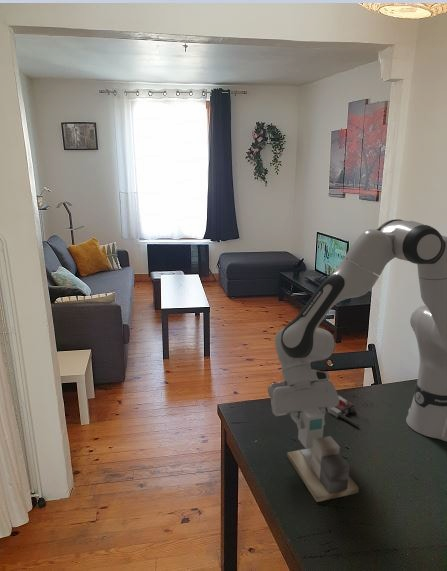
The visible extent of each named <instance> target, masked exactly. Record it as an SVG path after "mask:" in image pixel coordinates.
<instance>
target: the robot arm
mask: <svg viewBox="0 0 447 571" xmlns="http://www.w3.org/2000/svg"><path fill="white" fill-rule="evenodd" d="M395 258H396V259H399V260H403V261H406V262H409V263H412V264H414V265H417V276H418V283H419V291H420V298H421V301H422V302H423V304H424V305H422V306H419V307H417V308H416V309H414V311H413V312H412V314H411V316H410V318H409V319H410V320H409V324H410V327H411V329H412V331H413V332H414V335H415V338H416V342H417V348H418V353H419V366H418V375H417V380H416V382H415V384H414V385H415V386H414V392H413V398H412V402H411V405H410V407H409V408H408V411H407V412H408V413H407V416H406V417H405V418H406V419H405V421H406V424H407V425H408V426H409V427H410V429H412V430H413V431H415V432H416V433H418V434H420V435H423V436H425V437H429V438H433V439H437V440H441V441H444V442H447V236H446V235H442V234H441V233H440V231H438V230H437V229H436V228H434V227H433V226H430V225H427V224H424V223H420V222H418V221H414V220H402V219H400V218H399V219H398V218H396V219H390V220H387V221H385V222H384V223H382V224H381V225H380V226H379V227H378V228H377V229H373V228H371V229H367V230H365V231H363V232H362V233H361V234H360V235H359V236H358V238H356V240H355V241H354V243H353V244H352V245H351V246H350V247H349V250H348V251H347V252H346V253H345V256H344V258H343V259H342V261H341V262H339V265H338V266H337V267H336V269H335V270H334V271H333V272H332V273H331V274H330V275H329V276H327V277H326V278H325V279H324V280H323V281H322V282H321V283H320V285H319V286H318V288H316V290H315V291H314V293H313V294H312V295H311V296H310V298H309V300H308V301H307V302H306V304H305V305H304V306H303V308H302V309H301V310H300V312H299V313H298V314H297V316H295V318H293V319H292V320H291V321H289V323H287V324H286V325H285V326H284V327H283V328H281V329H279V331H277V332H276V335H275V336H274V344H275V345H274V346H275V350H276V356H277V359H278V362H279V363H280V365H281V366H280V367H281V374H282V378H283V381H280V382H273V383H271V384H270V385H269V386H268V388H267V392H268V396H269V398H270V404H271V406H270V407H271V411H272V414H273V415H274V416H275V417H279V416H287V415H290V418H291V419H292V420H293V422H294V423H295V424H296V427H297V430H299V429H304V428H305V425H304V422H303V421H302V422H301V421H300V420H299V417H298V416H299V414H300V411H301V410H302V409H308V408H315V407H318V408H319V409H320V411H321V412H322V413H323V414H324V415H325V416H326V412H327V408H333V407H336V406H337V405H338V404H339V397H338V396H339V394H338V392H337V390H336V387H335V385H334V383H333V382H332V381H331V380H330V379H331V376H330V373H328V372H327V371H321V370H319V369H318V370H317V369H313V368H312V367H311V363H312V362H313V363H314V362H319V361H324V360H327V359H329V358H330V357H331V356H332V355H333V353H334V352H335V349H336V348H335V347H336V341H335V338H334V335H333V334H332V333H331V332H330V331H329V330H326V329H325V328H321V327H319V326H320V324H321V323H322V322H323V320H324V319H325V317H326V316H327V315H328V313H329V312H330V311H331V309H332V308H333V307H334V306H335V305H337V304H338V303H340V302H341V301H345V300H348V299H353V298H360V297H362V296H365V295H366V294H367V293H369V291H371V289H372V288H373V287H374V286H375V284H376V282H378V280H379V278H380V276H381V274H382V273H383V271H384V269H385V267H386V266H387V264H388V263H389V262H390V261H392V260H393V259H395ZM325 416H324V418H325ZM325 425H326V420H325V419H324V426H325Z"/></svg>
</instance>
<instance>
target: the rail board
mask: <svg viewBox="0 0 447 571" xmlns="http://www.w3.org/2000/svg"><path fill="white" fill-rule="evenodd" d="M340 448H341V446H340V445H339V444H338V443H337V442H336V440H334V438H333V437H332V436H329V435H327V436H323V437H322V438H316V439H313V448H309V449H305V448H302V449H298V450H293V451H287V453H286V457H287V459H288V460H289V463H291V465H292V467H293V468H294V470H295V472H296V473H297V474H298V476H299V478H300V479H301V480H302V482H303V483H304V484H305V486H306V488H307V489H308V491H309V492H310V494H311V496H312V497H313V499H314V500H315V502H316V503H318V502H324V501H329V500H333V499H337V498H343V497H346V496H352V495H355V494H358V493H359V490H360V488H359V487H358V485H357V484H356V482H354V480H353V479H352V478H351V477H350V469H351V468H350V467H351V466H350V464H349V463H348V462H347V461H346V459H345V458H344V457H343V456H342V455H341V454H340V450H341V449H340Z"/></svg>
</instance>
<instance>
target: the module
mask: <svg viewBox="0 0 447 571" xmlns="http://www.w3.org/2000/svg"><path fill="white" fill-rule="evenodd" d="M324 416H326V414H325V415H324V414H323V413H322V412H321V411H320V409H319V408H318V407H315V408H308V409H302V410H301V411H300V413H299V417H298V419H299V420H300V421H301V422H302V421H303V422H304V425H305V428H304V429H298V434H297V439H298V441H299V442H300V443H301V444H302V446H303V447H304V449H309V448H313V439H316V438H322V437H324V426H325V425H324V420H325V417H324Z"/></svg>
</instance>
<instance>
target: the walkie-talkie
mask: <svg viewBox="0 0 447 571" xmlns="http://www.w3.org/2000/svg"><path fill="white" fill-rule="evenodd" d="M338 397H339V404H338V405H337V406H336V407H333V408H327V409H326V411H327V412H328V413H329V414H331V415H332V416H334V417H335V418H337V419H338V418H341V419H343V420H345V421H347V422H348V423H350V424H353V425H355V426H356V427H358V428H359V427H360V424H359V423H358V422H356V421H354V420H352V418H350V417H347V415H348V414H350V413H352V414H353V413H355V412H354V411H355V404H354V403H352V402H351V401H349V400H348V399H346V398H343V397H342V396H341V395H338Z"/></svg>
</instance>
